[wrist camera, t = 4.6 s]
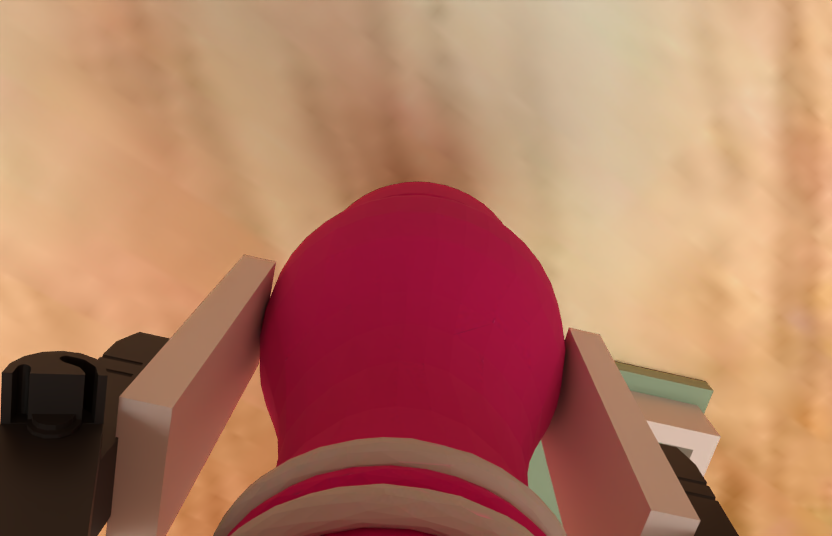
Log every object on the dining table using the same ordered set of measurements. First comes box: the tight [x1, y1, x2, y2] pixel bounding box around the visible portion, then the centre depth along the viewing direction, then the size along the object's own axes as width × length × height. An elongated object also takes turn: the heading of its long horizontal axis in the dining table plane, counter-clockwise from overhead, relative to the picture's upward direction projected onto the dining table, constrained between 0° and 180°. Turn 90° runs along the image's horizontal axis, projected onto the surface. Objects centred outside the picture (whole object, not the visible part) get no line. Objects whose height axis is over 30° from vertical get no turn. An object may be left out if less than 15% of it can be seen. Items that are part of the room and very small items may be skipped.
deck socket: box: [528, 361, 720, 526], centre depth 36 cm, size 14×13×4 cm
